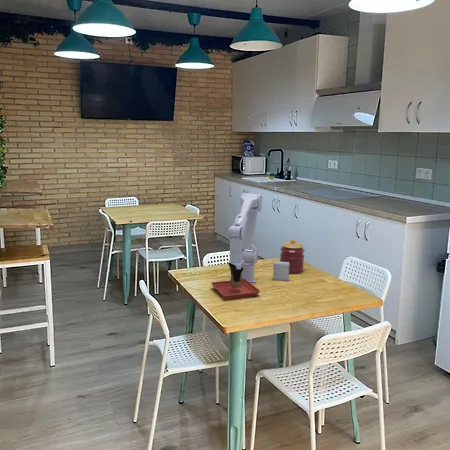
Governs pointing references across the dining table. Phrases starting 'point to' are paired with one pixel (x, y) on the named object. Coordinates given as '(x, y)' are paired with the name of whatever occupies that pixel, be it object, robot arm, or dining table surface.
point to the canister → (293, 256)
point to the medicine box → (281, 271)
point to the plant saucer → (235, 289)
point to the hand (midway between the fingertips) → (235, 279)
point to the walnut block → (236, 284)
